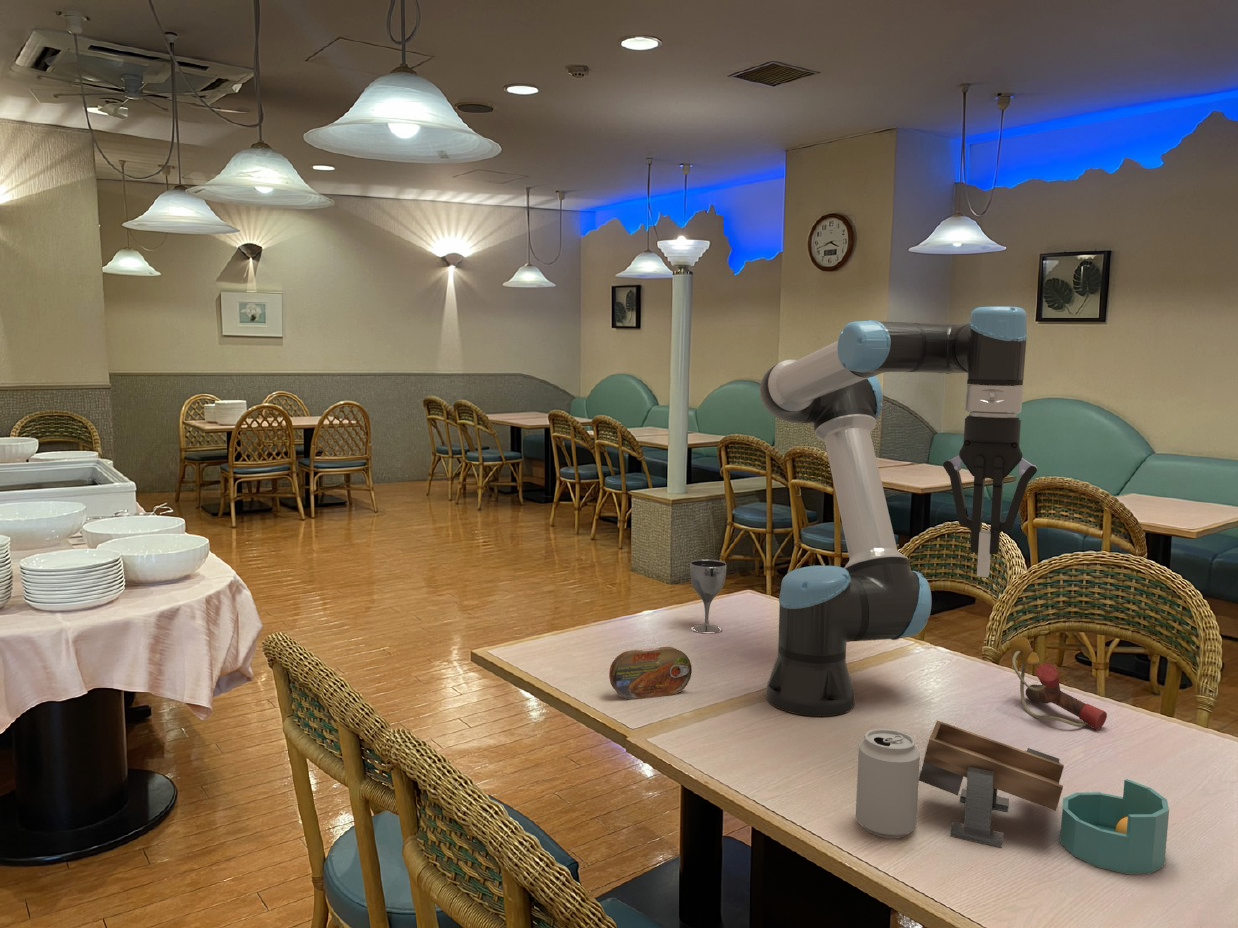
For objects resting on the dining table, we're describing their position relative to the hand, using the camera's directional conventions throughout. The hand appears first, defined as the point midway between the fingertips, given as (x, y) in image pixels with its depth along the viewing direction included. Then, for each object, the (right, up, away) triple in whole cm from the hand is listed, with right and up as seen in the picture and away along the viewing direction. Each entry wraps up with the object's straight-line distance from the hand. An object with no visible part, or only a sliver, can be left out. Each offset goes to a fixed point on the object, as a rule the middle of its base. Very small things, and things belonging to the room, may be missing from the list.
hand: (983, 574), depth 134 cm
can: (-20, -30, -17) cm, 40 cm away
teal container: (+7, -31, -22) cm, 39 cm away
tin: (-48, -25, +28) cm, 61 cm away
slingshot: (+19, -27, +21) cm, 39 cm away
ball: (+9, -29, -23) cm, 38 cm away
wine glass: (-34, -21, +69) cm, 80 cm away
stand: (-6, -30, -15) cm, 34 cm away
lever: (-5, -26, -13) cm, 30 cm away
